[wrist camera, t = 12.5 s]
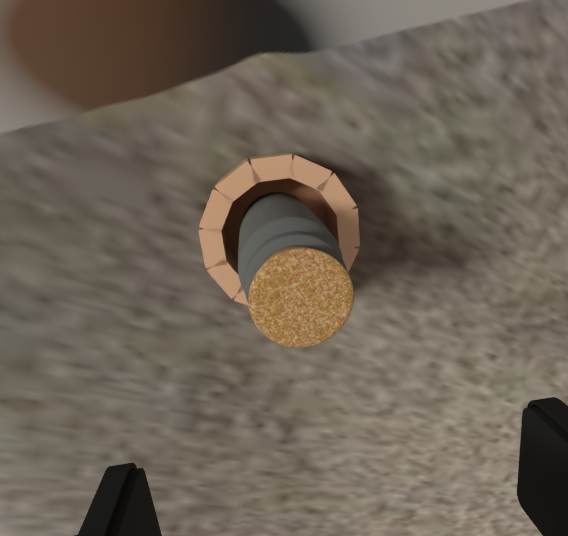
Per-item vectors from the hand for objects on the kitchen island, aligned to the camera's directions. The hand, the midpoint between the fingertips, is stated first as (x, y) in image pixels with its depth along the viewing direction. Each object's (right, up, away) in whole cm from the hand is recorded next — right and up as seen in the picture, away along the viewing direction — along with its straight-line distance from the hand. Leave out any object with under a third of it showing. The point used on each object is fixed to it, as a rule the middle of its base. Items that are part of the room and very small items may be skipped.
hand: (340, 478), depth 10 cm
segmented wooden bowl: (-2, +9, +23) cm, 25 cm away
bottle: (-2, +8, +22) cm, 24 cm away
